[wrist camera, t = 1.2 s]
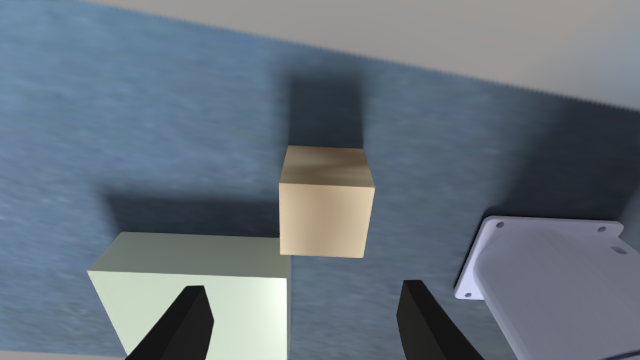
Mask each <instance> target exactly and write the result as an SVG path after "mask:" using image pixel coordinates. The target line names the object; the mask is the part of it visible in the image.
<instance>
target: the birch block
mask: <svg viewBox="0 0 640 360" xmlns="http://www.w3.org/2000/svg"><path fill="white" fill-rule="evenodd" d="M374 191H375V186H374V183H373V179H372V176H371V173H370V170H369V166H368V163H367V160H366V157H365V153H364V150H363V149H352V148H332V147H313V146H293V145H288V148H287V152H286V156H285V160H284V164H283V169H282V173H281V177H280V181H279V210H280V254H282V255H306V256H331V257H355V258H363V254H364V248H365V243H366V237H367V231H368V225H369V220H370V214H371V208H372V203H373V197H374Z"/></svg>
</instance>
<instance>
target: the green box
mask: <svg viewBox="0 0 640 360" xmlns="http://www.w3.org/2000/svg"><path fill="white" fill-rule="evenodd" d="M87 272H88V274H89V276H90V278H91V280H92V283H93V285H94V287H95V289H96V291H97V293H98V295H99V297H100V299H101V301H102V303H103V305H104V307H105V309H106V312H107V314H108V316H109V318H110V320H111V322H112V324H113V326H114V328H115V330H116V332H117V334H118V336H119V338H120V340H121V343H122V345H123V347H124V349H125V351H126V353H127V355H129V354H130V353H131V352H132V351H133V350H134V349H135V347H136V346H137V345H138V344H139V343H140V342H141V340H142V339H143V338H144V337H145V336H146V335H147V333H148V332H149V331H150V330H151V329H152V327H153V326H154V325H155V324H156V323H157V321H158V320H159V319H160V318H161V316H162V315H163V314H164V313H165V312H166V310H167V309H168V308H169V307H170V305H171V304H172V303H173V301H174V300H175V299H176V298H177V296H178V295H179V294H180V293H181V291H182V290H183V289H184V288H185V287H186V286H192V285H204V287H205V291H206V294H207V297H208V301H209V304H210V307H211V311H212V314H213V317H214V326H213V331H212V335H211V340H210V345H209V349H208V353H207V356H206V359H205V360H289V352H290V341H291V255H282V254H280V238H264V237H240V236H216V235H191V234H167V233H143V232H121V233H120V234H119V235H118V236H117V237H116V239H115V240H114V241H113V242H112V243H111V244H110V245H109V246H108V248H107V249H106V250H105V251H104V252H103V253H102V254H101V255H100V257H99V258H98V259H97V260H96V261H95V262H94V263H93V264H92V265H91V267H90V268H89V269H88V270H87Z"/></svg>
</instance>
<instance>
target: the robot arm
mask: <svg viewBox="0 0 640 360" xmlns="http://www.w3.org/2000/svg"><path fill="white" fill-rule="evenodd" d="M499 222H500V223H499ZM497 223H499V224H497ZM623 229H624V226H623V225H622V224H621V223H619V222H617V221H600V220H577V219H555V218H532V217H509V216H489V217H486V218H485V219H484V221H483V222H482V225H481V227H480V230H479V232H478V234H477V237H476V239H475V242H474V244H473V246H472V249H471V251H470V254H469V256H468V258H467V261H466V263H465V266H464V268H463V270H462V273H461V275H460V278H459V280H458V283H457V285H456V287H455V290H454V294H455V296H456V298H459V299H482V300H485V302H486V304H487V305H488V307H489V309H490V311H491V312H492V314H493V316H494V318H495V319H496V321H497V323H498V325H499V326H500V328H501V330H502V332H503V333H504V335H505V337H506V339H507V341H508V342H509V344H510V346H511V348H512V349H513V351H514V353H515V355H516V356H517V358H518V360H640V254H639V253H638V252H637V251H635V250H634V249H633V248H631V247H630V246H629V245H627V244H626V243H625V242H623V241H622V240H621V239H620V238H618V236H619V235H620V233H621V232H622V231H623ZM396 316H397V322H398V327H399V332H400V337H401V341H402V346H403V349H404V353H405V356H406V359H407V360H484V358H483V357H482V356H481V355H480V354H479V353H478V352H477V351H476V349H475V348H474V347H473V346H472V345H471V344H470V342H469V341H468V340H467V339H466V338H465V336H464V335H463V334H462V333H461V331H460V330H459V329H458V328H457V327H456V325H455V324H454V323H453V322H452V320H451V319H450V318H449V317H448V315H447V314H446V313H445V311H444V310H443V309H442V307H441V306H440V305H439V304H438V302H437V301H436V300H435V298H434V297H433V295H432V294H431V293H430V291H429V290H428V289H427V287H426V286H425V284H424V283H423V282H422V281H421V280H404V281H403V286H402V291H401V296H400V301H399V305H398V310H397V315H396ZM213 326H214V317H213V314H212V311H211V307H210V304H209V301H208V297H207V294H206V291H205V287H204V285H192V286H186V287H185V288H184V289H183V290H182V291H181V293H180V294H179V295H178V296H177V298H176V299H175V300H174V301H173V303H172V304H171V305H170V307H169V308H168V309H167V310H166V312H165V313H164V314H163V315H162V316H161V318H160V319H159V320H158V321H157V323H156V324H155V325H154V326H153V327H152V329H151V330H150V331H149V332H148V333H147V335H146V336H145V337H144V338H143V339H142V340H141V342H140V343H139V344H138V345H137V346H136V347H135V349H134V350H133V351H132V352H131V353H130V354H129V355H128V356H127V358H126V359H125V360H205V359H206V356H207V353H208V349H209V345H210V340H211V335H212V331H213Z"/></svg>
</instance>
